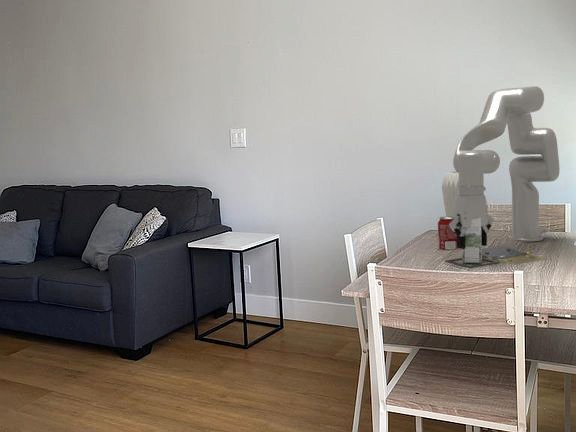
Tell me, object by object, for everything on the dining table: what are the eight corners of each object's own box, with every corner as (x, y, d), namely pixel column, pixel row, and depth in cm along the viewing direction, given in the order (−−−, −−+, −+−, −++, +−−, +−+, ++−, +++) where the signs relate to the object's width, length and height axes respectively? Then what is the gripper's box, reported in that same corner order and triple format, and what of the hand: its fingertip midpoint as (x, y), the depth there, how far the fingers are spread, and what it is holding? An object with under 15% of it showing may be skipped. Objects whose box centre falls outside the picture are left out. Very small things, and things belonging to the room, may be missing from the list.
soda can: (458, 252, 216) (457, 218, 214) (438, 252, 217) (438, 219, 216) (457, 248, 222) (456, 216, 221) (438, 248, 224) (437, 216, 222)
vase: (458, 241, 237) (457, 173, 234) (435, 237, 249) (434, 172, 246) (484, 237, 243) (483, 171, 240) (460, 233, 255) (459, 170, 252)
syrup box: (482, 260, 196) (481, 215, 194) (481, 264, 191) (480, 217, 189) (463, 259, 198) (462, 215, 196) (462, 263, 193) (461, 218, 191)
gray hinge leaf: (504, 247, 212) (505, 243, 211) (526, 256, 202) (527, 252, 202) (471, 252, 206) (472, 248, 206) (493, 262, 197) (493, 257, 197)
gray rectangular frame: (474, 259, 202) (474, 256, 202) (499, 265, 191) (499, 261, 191) (445, 264, 198) (445, 260, 197) (469, 270, 187) (469, 266, 187)
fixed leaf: (528, 255, 204) (528, 251, 204) (553, 260, 194) (553, 256, 194) (485, 262, 197) (485, 257, 197) (509, 267, 188) (509, 262, 187)
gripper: (485, 188, 198) (485, 242, 201) (440, 193, 192) (442, 248, 194) (501, 190, 191) (502, 245, 194) (456, 194, 185) (457, 251, 187)
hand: (472, 246), depth 194 cm, fingers closed on syrup box, 7 cm apart
